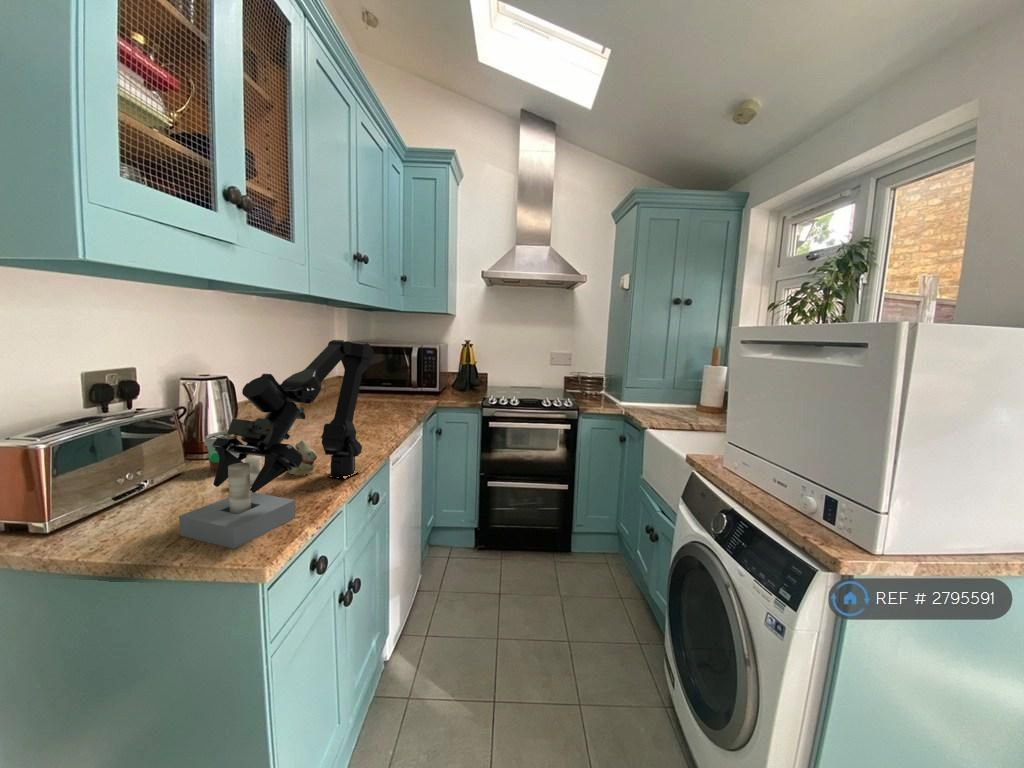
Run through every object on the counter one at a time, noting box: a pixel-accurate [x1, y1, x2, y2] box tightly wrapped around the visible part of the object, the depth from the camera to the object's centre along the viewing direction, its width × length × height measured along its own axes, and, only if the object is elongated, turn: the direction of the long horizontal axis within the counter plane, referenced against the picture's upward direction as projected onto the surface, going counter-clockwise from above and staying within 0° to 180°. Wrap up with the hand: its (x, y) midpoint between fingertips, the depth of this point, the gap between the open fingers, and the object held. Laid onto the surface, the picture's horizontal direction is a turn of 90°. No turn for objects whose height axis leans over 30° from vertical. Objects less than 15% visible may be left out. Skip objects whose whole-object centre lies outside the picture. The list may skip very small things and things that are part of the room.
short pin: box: [244, 455, 263, 486], centre depth 105 cm, size 4×4×7 cm
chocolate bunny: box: [286, 439, 318, 476], centre depth 113 cm, size 6×8×10 cm
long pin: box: [227, 462, 251, 514], centre depth 81 cm, size 4×4×13 cm
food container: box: [203, 430, 231, 474], centre depth 113 cm, size 12×6×10 cm, turn 44°
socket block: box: [178, 491, 296, 550], centre depth 81 cm, size 14×14×4 cm
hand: (233, 488), depth 79 cm, fingers open, 9 cm apart
